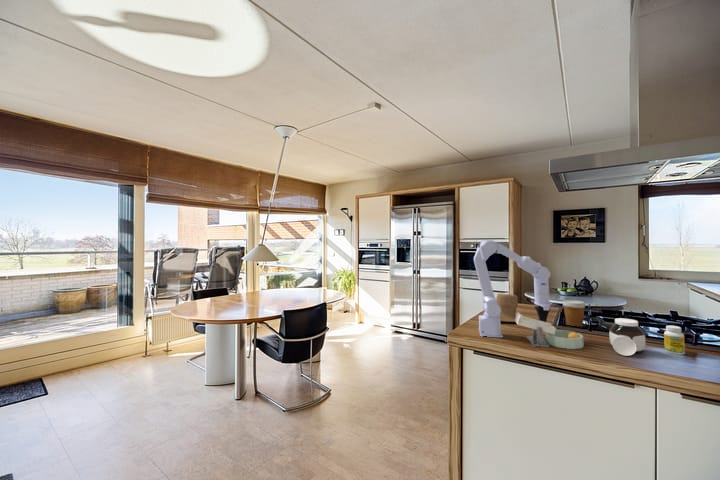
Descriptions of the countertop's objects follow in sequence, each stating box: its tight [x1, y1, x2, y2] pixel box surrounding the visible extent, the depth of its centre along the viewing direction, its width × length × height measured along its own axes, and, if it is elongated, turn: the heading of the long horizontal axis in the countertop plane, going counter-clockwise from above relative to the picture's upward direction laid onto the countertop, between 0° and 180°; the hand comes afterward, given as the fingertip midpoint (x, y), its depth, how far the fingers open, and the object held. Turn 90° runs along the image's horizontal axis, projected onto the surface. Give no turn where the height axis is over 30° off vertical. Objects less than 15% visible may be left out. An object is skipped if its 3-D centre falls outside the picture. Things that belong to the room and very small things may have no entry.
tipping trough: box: [514, 311, 557, 334], centre depth 135 cm, size 14×15×4 cm
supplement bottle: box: [663, 324, 686, 356], centre depth 115 cm, size 5×5×10 cm
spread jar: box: [608, 317, 646, 357], centre depth 117 cm, size 12×11×12 cm
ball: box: [568, 331, 579, 338], centre depth 127 cm, size 4×4×4 cm
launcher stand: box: [526, 327, 551, 348], centre depth 131 cm, size 6×12×8 cm, turn 163°
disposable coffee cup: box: [561, 299, 586, 327], centre depth 152 cm, size 10×10×12 cm
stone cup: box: [495, 293, 519, 323], centre depth 165 cm, size 15×12×15 cm
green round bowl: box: [545, 329, 585, 350], centre depth 128 cm, size 13×13×4 cm
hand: (542, 322), depth 138 cm, fingers closed, pressing on tipping trough
